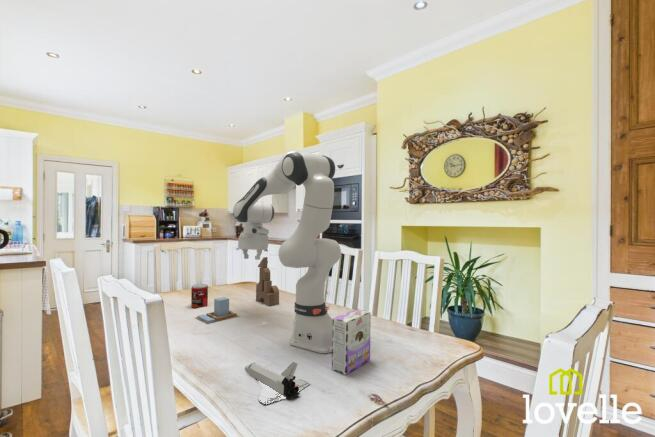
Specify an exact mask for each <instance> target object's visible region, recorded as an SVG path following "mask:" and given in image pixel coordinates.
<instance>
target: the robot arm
mask: <svg viewBox="0 0 655 437" xmlns="http://www.w3.org/2000/svg"><path fill="white" fill-rule="evenodd" d="M335 174H336V164H335V162H334V160H333V159H332V158H331V157H328V156H326V155H320V154H315V153H311V152H299V151H295V150H290V151H288V152H286V153H285V154H284V155H283V156H282V157H281V159H280V160H279V161H278V163H277V164H276V165H275V167H274V169H272V171H270V172H269V173H268V174H266V175H265V176H263V177H260V178H259V179H258V180H257V181H256V182H255V183H254V184H253V185H252V186H251V188H250V189H249V190H248V191H247V192H246V193H245V194H244V195H243V197H242V198H241V199H239V200H238V201H237V202H236V203H235V204H234V206H233V209H232V210H233V211H232V213H233V214H232V215H233V217H234V219H235V220H236V221H237V222H239V223H243V230H242V231H241V232H240V235H239V237H238V242H237V248H238V250H242V254H243V259H245V260H248V259H249V256H250V255H249V253H248V252H249V250H251V251H255V250H256V255H255V256H254V257H255V258H254V259H255V260H259V261H261V260H260V259H261V255H262V253H263V251H267V249H268V248H269V234H270V232H269V229H267V228H266V227H264V226H263V224H268V223H270V222H272V221H273V219H274V218H275V208H274V206H273V205H272V204H271V203H269V202H267V201H264V200H263V197H265V196H270V195H283V194H287V193H289V192H290V191H292V190H293V189H294V188H295V186H296V185H297V187H298V186H301V185H303V187H304V191H305V192H304V198H303V205H302V210H301V214H300V215H301V216H300V221H299V223H298V225H297V227H296V229H295V230H294V232H293V233H292V235H290V236H289V238H287V239H286V240H285V241H283V242H282V243H281V244H280V246H279V247H278V248H279V249H278V259H279V261H280V263H281V265H282V266H284V267H286V268H292V269H300V268H302V269H303V268H307V271H306V273H305V274H304V275H303V276H301V277H299V278H298V280H297V281H296V284H295V302H294V306H293V307H294V313H295V315H294V319H293V325H292V332H291V337H290V341H289V344H290V345H291V346H294V347H297V348H300V349H304V350H307V351H311V352H315V353H318V354H330V353H332V338H333V337H332V336H333V317H331V316H330V315H329V313H328V310H329V309H330V306H329V305H328V306H327V305H326V302H325V290H326V289H325V287H326V281H327V278H328V275H329V274H330V271H331V269H332V268H333V267H334V266H335V264H336V263H338V262H339V260H340V259H341V256H342V250H341V246H340V244H339V243H338V242H337V240H335V239H330V238H327V237H325V238H322V237H321V238H318V236H320V235H321V234H322V233H324V232H325V231H327V230H328V229H329V228H330V224H331V219H332V215H333V214H332V213H333V207H334V203H335V202H334V201H335V200H334V199H335V184H334V181H333V180H332V179H333V178H334V176H335Z"/></svg>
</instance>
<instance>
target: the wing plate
mask: <svg viewBox="0 0 655 437" xmlns="http://www.w3.org/2000/svg"><path fill="white" fill-rule="evenodd" d="M197 318H199V319H201V320H203V321H205V322H207V323H211V322H215V319H213V318H211V317H208V316H206V314H199V315H197ZM215 323H216V322H215ZM211 324H212V323H211Z"/></svg>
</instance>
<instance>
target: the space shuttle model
mask: <svg viewBox="0 0 655 437" xmlns="http://www.w3.org/2000/svg"><path fill="white" fill-rule="evenodd" d="M297 367H298V363H297V362H294V361H293V362H291V363H290V364H289V365H288V367H286V369H284V371H283V372H282V373H280V374H279V373H278V372H275V371H274V370H271V369H269V368H267V367H265V366H263V365H261V364H259V363H257V362H252V363H250V364H248V365H246V366H245V368H244V369H245V370H244V371H245V372H246V373H247V374H248V375H249V376H250V377H251V378H253V379H255V380H256V379H257V380H256V381H257V382H258V381H260V382H261V383H263V384H265V385H267V386H269V387H270V388H272V389H273V390H275V391H276V392H278V393H279V394H281V395H283V396H284V397H286V398H287V399H286V400H291V399H293V398H294V397H297V396H299V395H301V393H300V392H298V391H299V390H301V391H302V390H304V389H305V388H306V387H308V386H309V385H311V383H310V382H308V381H306V380H304V379H296V375H295V373H296V370H297ZM278 393H277V394H278ZM277 394H275V395H277ZM279 394H278V395H279ZM278 395H277V396H276V397H275V398H270V400H268V399H269V398H268V399H267V404H268V405H271V404H274V403H275V402H274V401H278V402H281V401H280V400H279V398H281V397H280V396H281V395H280V396H278ZM278 397H279V398H278ZM273 400H274V401H273ZM260 401H261V400H260ZM268 401H270V402H272V401H273V402H274V403H273V402H272V403H271V404H270V403H269V402H268ZM261 403H262V402H261ZM261 403H260V404H261ZM264 403H265V404H266V401H265V402H264ZM264 403H262V404H261V405H263V406H268V405H267V404H266V405H264Z"/></svg>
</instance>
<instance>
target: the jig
mask: <svg viewBox="0 0 655 437" xmlns="http://www.w3.org/2000/svg"><path fill="white" fill-rule="evenodd" d="M205 315H206V316H208V317H211V318H213V319H215V322H211V323H207V322H205V321H203V320H201V319H199V318H197V317H194V319H195V320H196V321H197V320H198V322H202V323H203V324H205V325H211V324H214V323H219V322H223V321H227V320H231V319H234V318H239V317H240V316H241V315H238V313H236V312H235V311H231V310H229V315H225V316H221V317H216V316H214V311H212V312H208V313H205Z"/></svg>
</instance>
